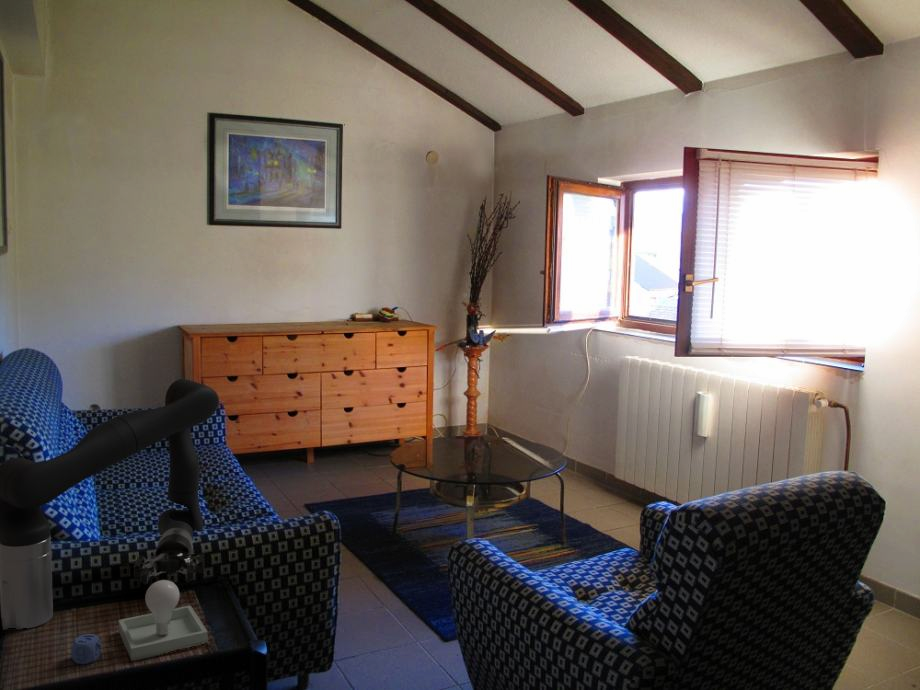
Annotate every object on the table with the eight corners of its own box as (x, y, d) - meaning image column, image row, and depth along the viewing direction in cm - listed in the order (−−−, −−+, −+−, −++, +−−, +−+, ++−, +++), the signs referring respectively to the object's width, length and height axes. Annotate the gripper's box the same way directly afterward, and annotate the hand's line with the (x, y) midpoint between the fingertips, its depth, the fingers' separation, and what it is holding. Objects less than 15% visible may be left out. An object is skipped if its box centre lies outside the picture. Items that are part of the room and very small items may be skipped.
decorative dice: (101, 653, 156) (101, 633, 155) (93, 664, 152) (93, 644, 151) (80, 653, 156) (79, 633, 155) (71, 664, 152) (70, 644, 151)
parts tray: (131, 661, 153) (131, 648, 153) (118, 631, 164) (118, 620, 164) (207, 643, 161) (207, 631, 161) (190, 616, 172) (190, 605, 171)
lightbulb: (169, 644, 159) (168, 589, 158) (139, 639, 160) (138, 586, 159) (186, 629, 165) (185, 576, 164) (157, 625, 166) (156, 573, 165)
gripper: (140, 535, 184) (129, 563, 169) (207, 531, 188) (202, 559, 172) (141, 567, 185) (130, 598, 170) (207, 563, 189) (203, 593, 173)
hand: (167, 578), depth 171 cm, fingers open, 8 cm apart
